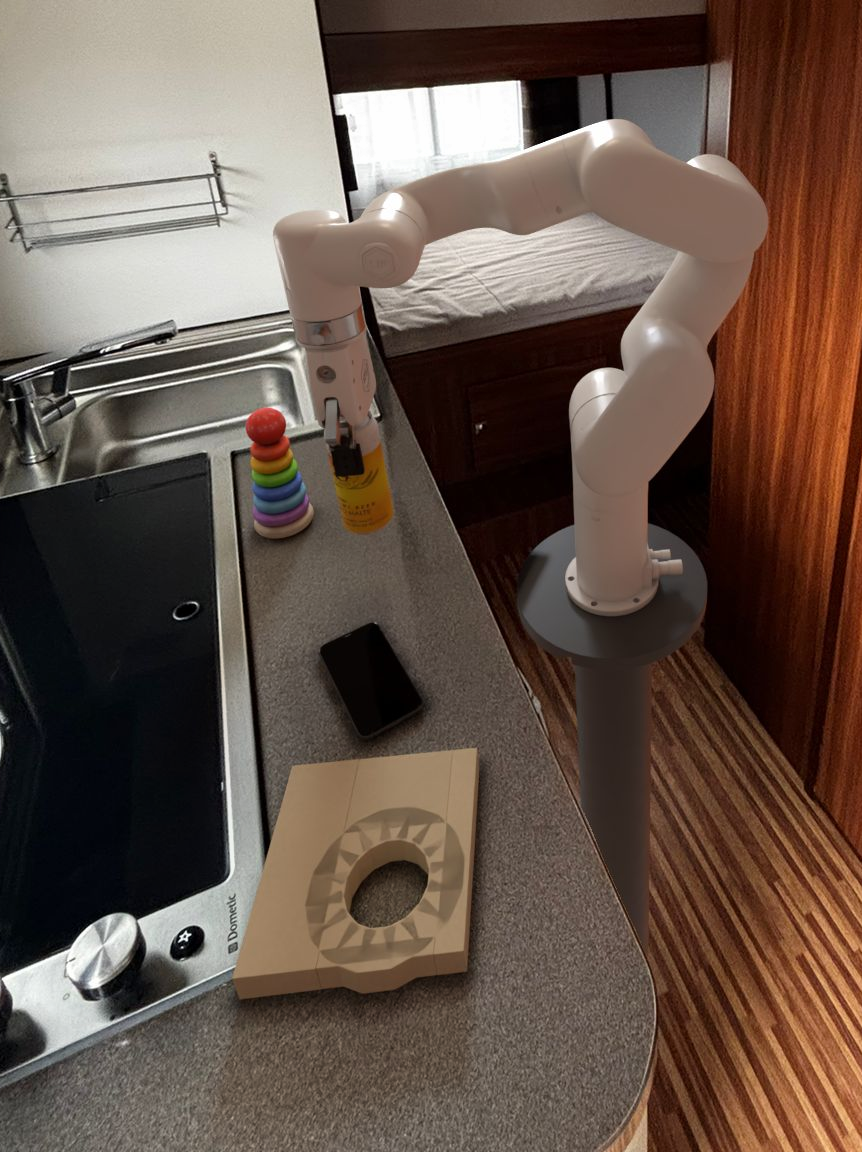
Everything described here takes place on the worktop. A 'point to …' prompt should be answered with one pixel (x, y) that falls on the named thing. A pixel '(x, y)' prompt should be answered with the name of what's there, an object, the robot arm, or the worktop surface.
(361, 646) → the smartphone
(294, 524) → the stacking toy
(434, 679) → the worktop surface
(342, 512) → the beer can
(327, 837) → the pad base
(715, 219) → the robot arm
